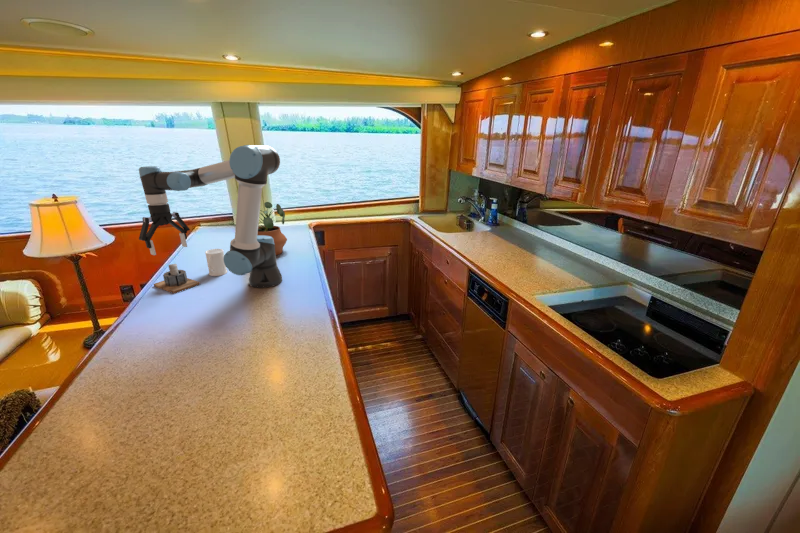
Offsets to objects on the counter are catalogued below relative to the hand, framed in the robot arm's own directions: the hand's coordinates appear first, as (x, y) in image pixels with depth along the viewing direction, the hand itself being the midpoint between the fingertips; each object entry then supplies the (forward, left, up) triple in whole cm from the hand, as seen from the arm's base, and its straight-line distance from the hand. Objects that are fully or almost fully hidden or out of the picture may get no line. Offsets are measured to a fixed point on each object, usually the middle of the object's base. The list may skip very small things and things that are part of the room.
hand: (169, 250), depth 151 cm
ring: (0, 0, -16) cm, 16 cm away
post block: (0, 0, -17) cm, 17 cm away
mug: (-3, -18, -18) cm, 25 cm away
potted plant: (+3, -54, -18) cm, 57 cm away
